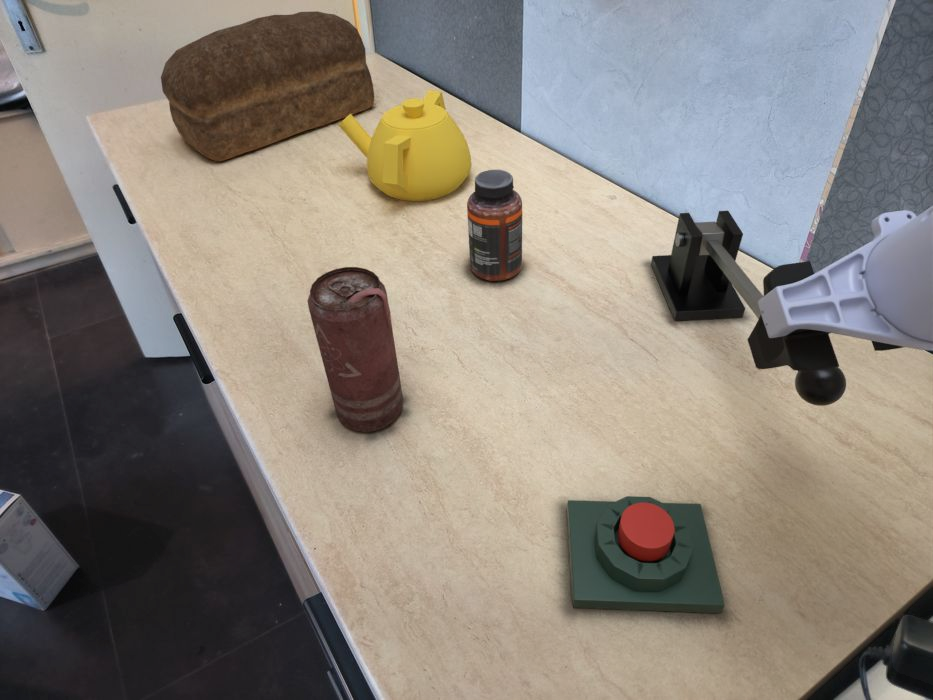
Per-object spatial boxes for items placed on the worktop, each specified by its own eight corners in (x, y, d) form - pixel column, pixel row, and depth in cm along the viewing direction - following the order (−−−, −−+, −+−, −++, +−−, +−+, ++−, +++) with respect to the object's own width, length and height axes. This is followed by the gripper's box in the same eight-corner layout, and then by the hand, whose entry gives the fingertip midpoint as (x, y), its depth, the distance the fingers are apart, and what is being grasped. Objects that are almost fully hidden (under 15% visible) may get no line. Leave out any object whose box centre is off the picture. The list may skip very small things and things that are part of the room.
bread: (171, 139, 104) (132, 34, 93) (340, 84, 118) (323, -13, 108) (209, 170, 95) (171, 58, 85) (386, 106, 110) (373, 4, 99)
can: (402, 435, 57) (382, 311, 47) (330, 434, 57) (296, 311, 48) (410, 385, 61) (393, 262, 52) (344, 384, 62) (314, 263, 52)
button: (665, 516, 47) (669, 502, 46) (674, 562, 44) (679, 549, 43) (615, 515, 47) (617, 501, 46) (620, 560, 45) (623, 547, 43)
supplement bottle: (524, 255, 76) (527, 165, 69) (518, 285, 72) (519, 193, 64) (474, 251, 77) (471, 162, 70) (465, 281, 73) (460, 190, 65)
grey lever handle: (847, 413, 46) (861, 377, 44) (802, 416, 46) (814, 380, 44) (715, 245, 68) (720, 217, 66) (684, 247, 68) (689, 218, 66)
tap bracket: (742, 317, 67) (764, 249, 61) (674, 321, 67) (690, 253, 61) (712, 261, 74) (729, 195, 68) (650, 264, 74) (662, 199, 68)
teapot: (372, 141, 100) (362, 68, 93) (488, 151, 96) (486, 75, 89) (317, 207, 86) (299, 127, 79) (449, 222, 82) (443, 139, 75)
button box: (697, 512, 50) (705, 489, 48) (721, 613, 44) (731, 592, 42) (566, 508, 51) (569, 485, 49) (572, 608, 45) (575, 587, 43)
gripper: (1114, 140, 29) (902, 268, 42) (807, 179, 27) (686, 299, 40) (1191, 287, 27) (943, 373, 40) (864, 338, 25) (717, 410, 38)
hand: (816, 343), depth 40 cm, fingers open, 7 cm apart
